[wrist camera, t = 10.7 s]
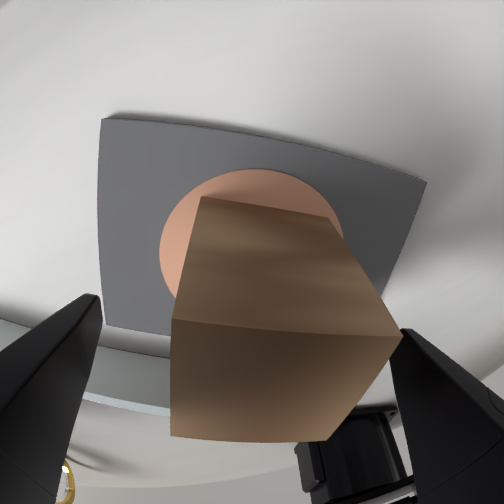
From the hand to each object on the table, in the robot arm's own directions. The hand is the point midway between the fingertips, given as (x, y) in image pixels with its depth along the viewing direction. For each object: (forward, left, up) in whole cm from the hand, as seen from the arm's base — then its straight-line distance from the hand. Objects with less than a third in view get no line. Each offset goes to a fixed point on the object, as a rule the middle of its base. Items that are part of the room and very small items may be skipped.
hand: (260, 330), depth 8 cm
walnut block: (0, 0, -4) cm, 4 cm away
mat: (0, 0, -4) cm, 4 cm away
